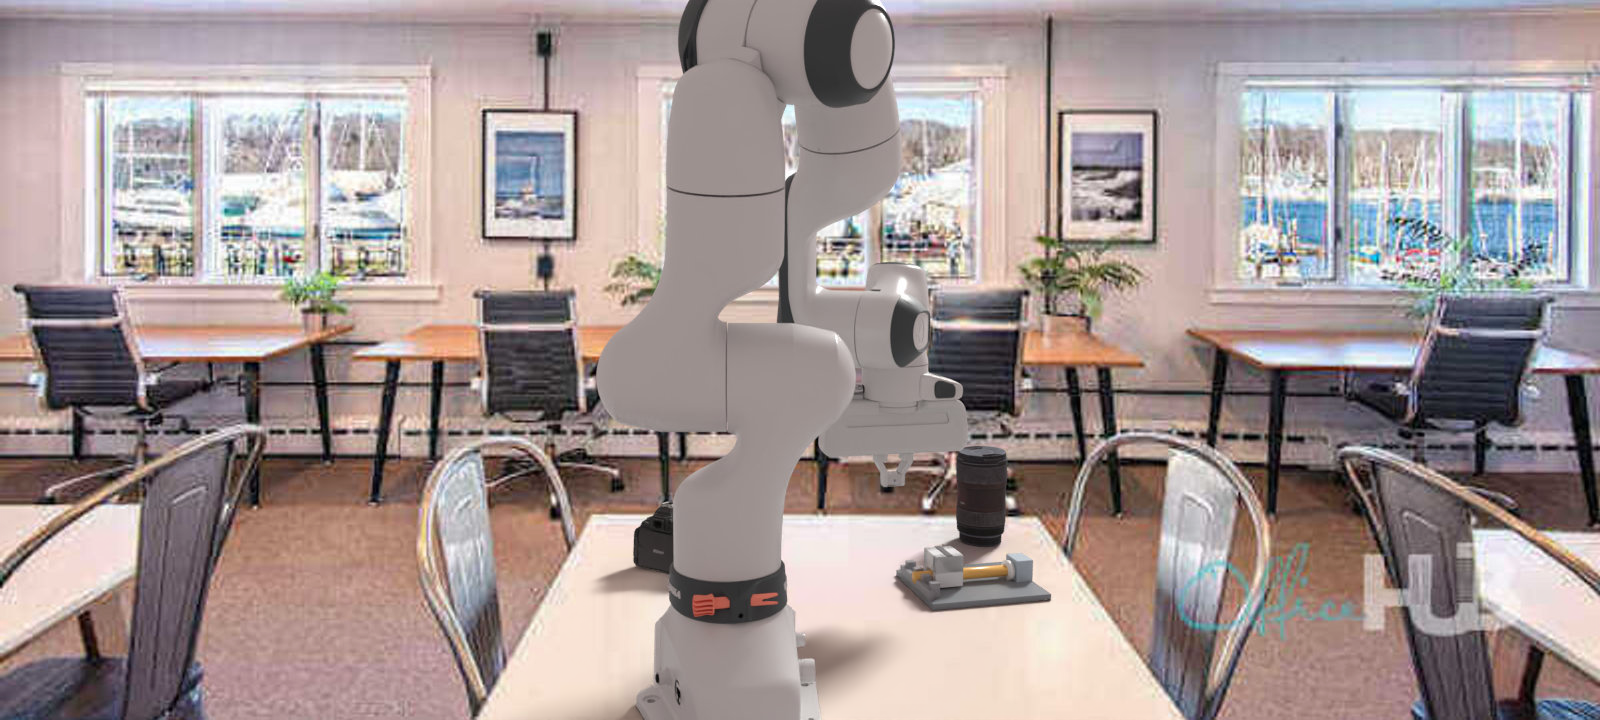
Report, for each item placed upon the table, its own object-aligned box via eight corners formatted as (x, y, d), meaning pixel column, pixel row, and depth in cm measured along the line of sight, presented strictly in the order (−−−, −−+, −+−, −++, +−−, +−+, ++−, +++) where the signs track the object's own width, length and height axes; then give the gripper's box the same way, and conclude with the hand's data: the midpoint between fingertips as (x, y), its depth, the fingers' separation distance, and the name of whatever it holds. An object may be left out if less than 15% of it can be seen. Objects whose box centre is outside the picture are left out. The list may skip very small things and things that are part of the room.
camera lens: (944, 536, 155) (947, 447, 153) (985, 531, 158) (987, 443, 157) (973, 550, 148) (976, 457, 146) (1015, 544, 151) (1018, 452, 149)
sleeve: (962, 585, 128) (963, 554, 128) (935, 588, 127) (936, 556, 127) (950, 575, 133) (950, 545, 132) (923, 577, 132) (924, 547, 131)
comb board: (1050, 599, 126) (1052, 572, 126) (932, 610, 122) (933, 581, 122) (1004, 566, 140) (1005, 541, 140) (896, 575, 136) (896, 549, 136)
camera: (730, 560, 142) (729, 495, 141) (716, 582, 133) (716, 513, 132) (644, 556, 144) (643, 492, 143) (624, 578, 134) (624, 510, 133)
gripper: (825, 390, 120) (824, 496, 122) (974, 385, 125) (971, 487, 126) (813, 383, 126) (812, 483, 128) (955, 378, 131) (952, 475, 132)
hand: (892, 485), depth 127 cm, fingers closed
